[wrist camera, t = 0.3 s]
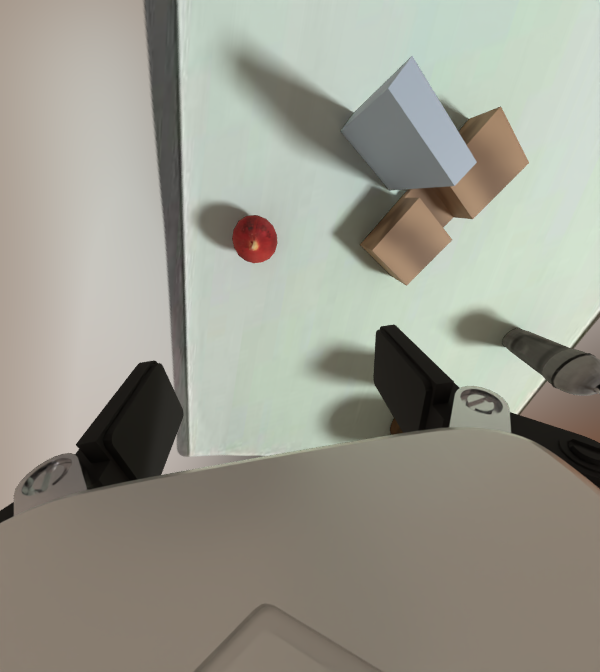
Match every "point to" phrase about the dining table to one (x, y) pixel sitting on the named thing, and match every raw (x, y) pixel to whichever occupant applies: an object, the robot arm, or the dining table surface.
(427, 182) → the grey block
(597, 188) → the dining table surface
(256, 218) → the red pomegranate
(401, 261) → the slotted base
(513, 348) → the beverage cup
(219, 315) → the dining table surface
